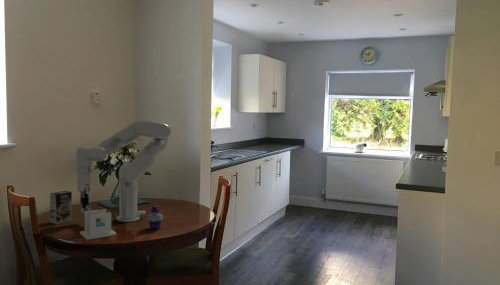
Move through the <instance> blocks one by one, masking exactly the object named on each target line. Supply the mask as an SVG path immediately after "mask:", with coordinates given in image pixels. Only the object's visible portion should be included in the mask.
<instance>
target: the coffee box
mask: <svg viewBox="0 0 500 285" xmlns="http://www.w3.org/2000/svg"><path fill="white" fill-rule="evenodd" d="M72 193H73V192H72V191H69V190H67V191H66V190H63V191H62V190H60V191H56V192H50V193H49V220H50V221H49V222H50V224H54V225H59V224H60V225H61V224H63V223H69V222H72V221H73V201H72V200H73V199H72V198H73V197H72V196H73V194H72Z"/></svg>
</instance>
